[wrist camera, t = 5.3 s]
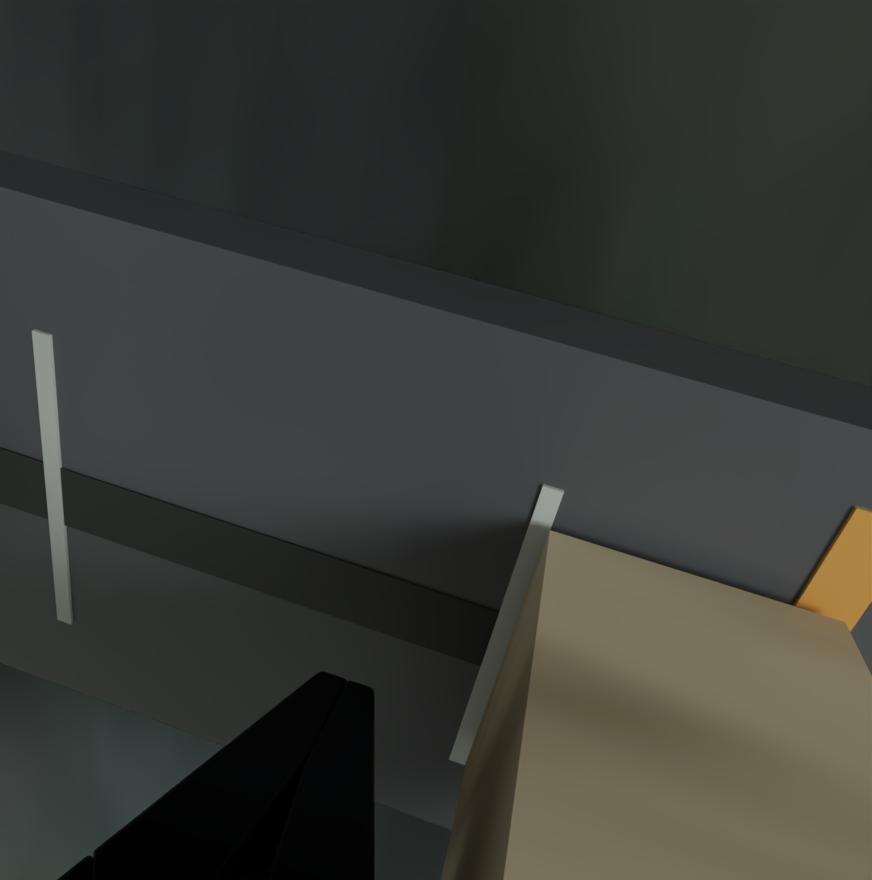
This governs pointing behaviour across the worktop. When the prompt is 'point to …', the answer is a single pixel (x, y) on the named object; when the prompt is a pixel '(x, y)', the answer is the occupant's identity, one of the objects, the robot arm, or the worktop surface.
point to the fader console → (362, 468)
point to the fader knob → (666, 734)
